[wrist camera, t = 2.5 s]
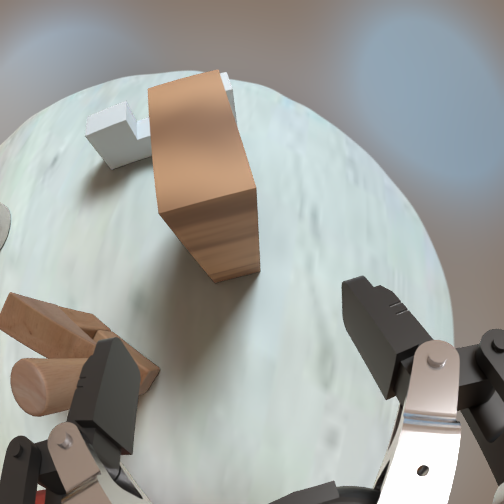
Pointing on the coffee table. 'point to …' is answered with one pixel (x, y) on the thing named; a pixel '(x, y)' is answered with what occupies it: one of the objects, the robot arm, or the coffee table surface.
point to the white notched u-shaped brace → (127, 132)
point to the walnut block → (204, 175)
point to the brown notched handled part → (56, 352)
